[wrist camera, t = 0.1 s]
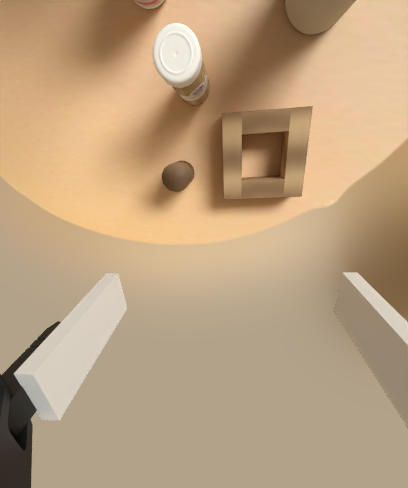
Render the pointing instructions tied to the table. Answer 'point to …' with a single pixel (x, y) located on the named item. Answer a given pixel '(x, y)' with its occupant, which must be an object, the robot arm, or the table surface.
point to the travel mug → (315, 14)
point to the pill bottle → (149, 3)
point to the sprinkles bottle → (181, 62)
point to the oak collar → (292, 156)
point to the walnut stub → (178, 175)
